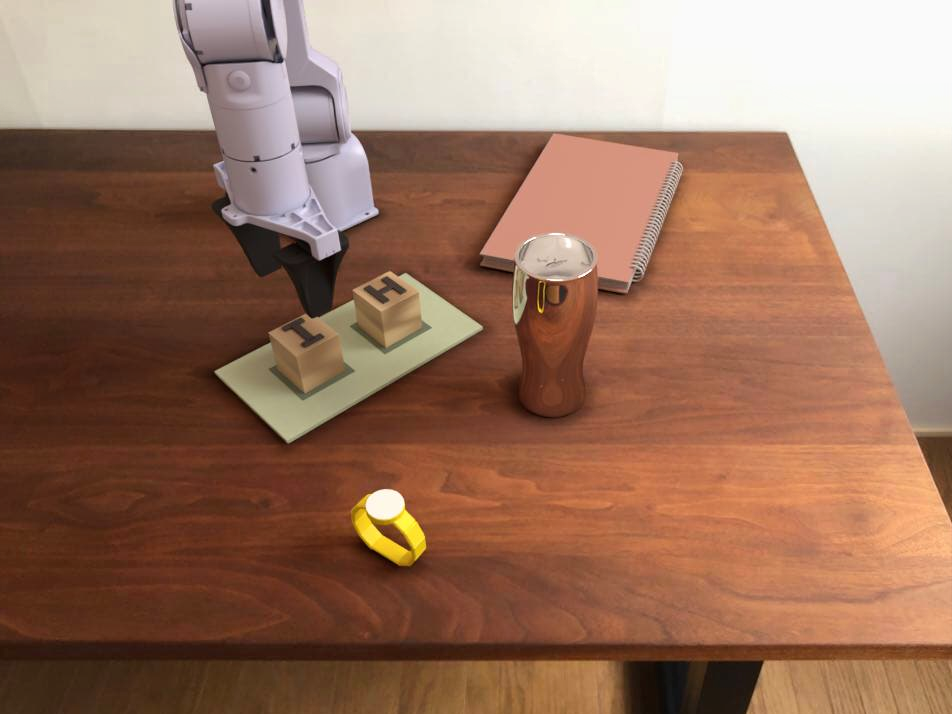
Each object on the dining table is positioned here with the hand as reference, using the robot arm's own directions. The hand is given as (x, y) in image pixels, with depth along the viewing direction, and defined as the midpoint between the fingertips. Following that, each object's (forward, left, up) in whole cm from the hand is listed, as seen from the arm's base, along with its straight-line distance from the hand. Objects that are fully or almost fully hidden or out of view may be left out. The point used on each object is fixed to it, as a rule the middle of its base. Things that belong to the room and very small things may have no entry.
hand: (293, 291), depth 75 cm
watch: (+7, +21, -10) cm, 24 cm away
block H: (-9, 0, -9) cm, 13 cm away
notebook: (-38, -1, -10) cm, 39 cm away
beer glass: (-14, +17, -10) cm, 24 cm away
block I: (0, 0, -9) cm, 9 cm away
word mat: (-4, 0, -9) cm, 10 cm away
